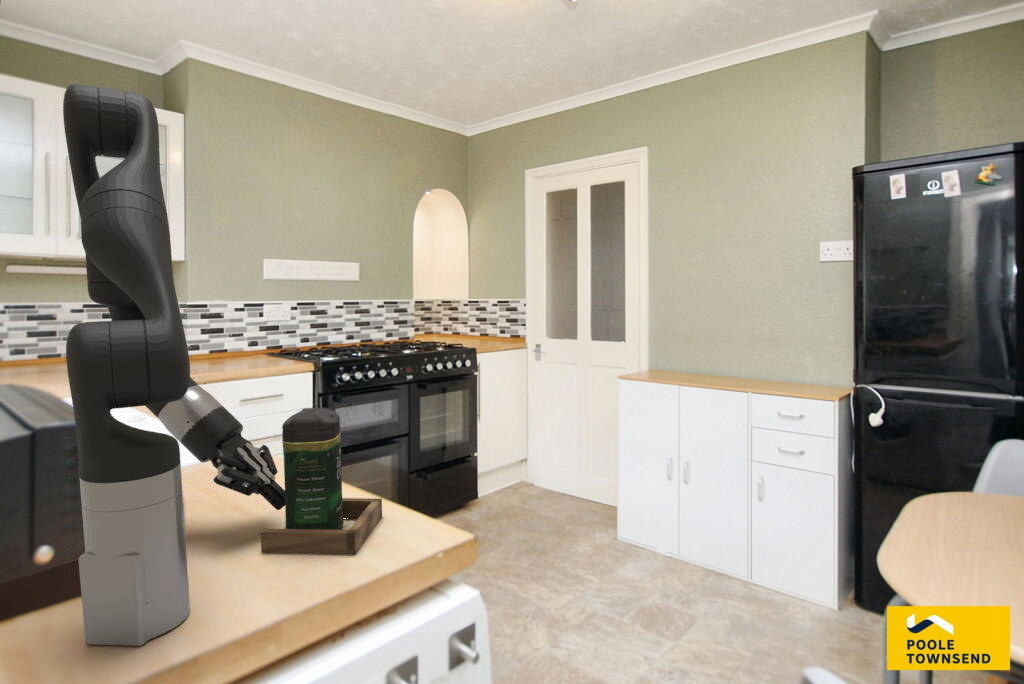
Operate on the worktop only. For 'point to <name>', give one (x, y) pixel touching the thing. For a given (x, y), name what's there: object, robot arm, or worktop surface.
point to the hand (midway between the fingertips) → (285, 504)
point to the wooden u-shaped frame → (327, 532)
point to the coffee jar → (313, 470)
